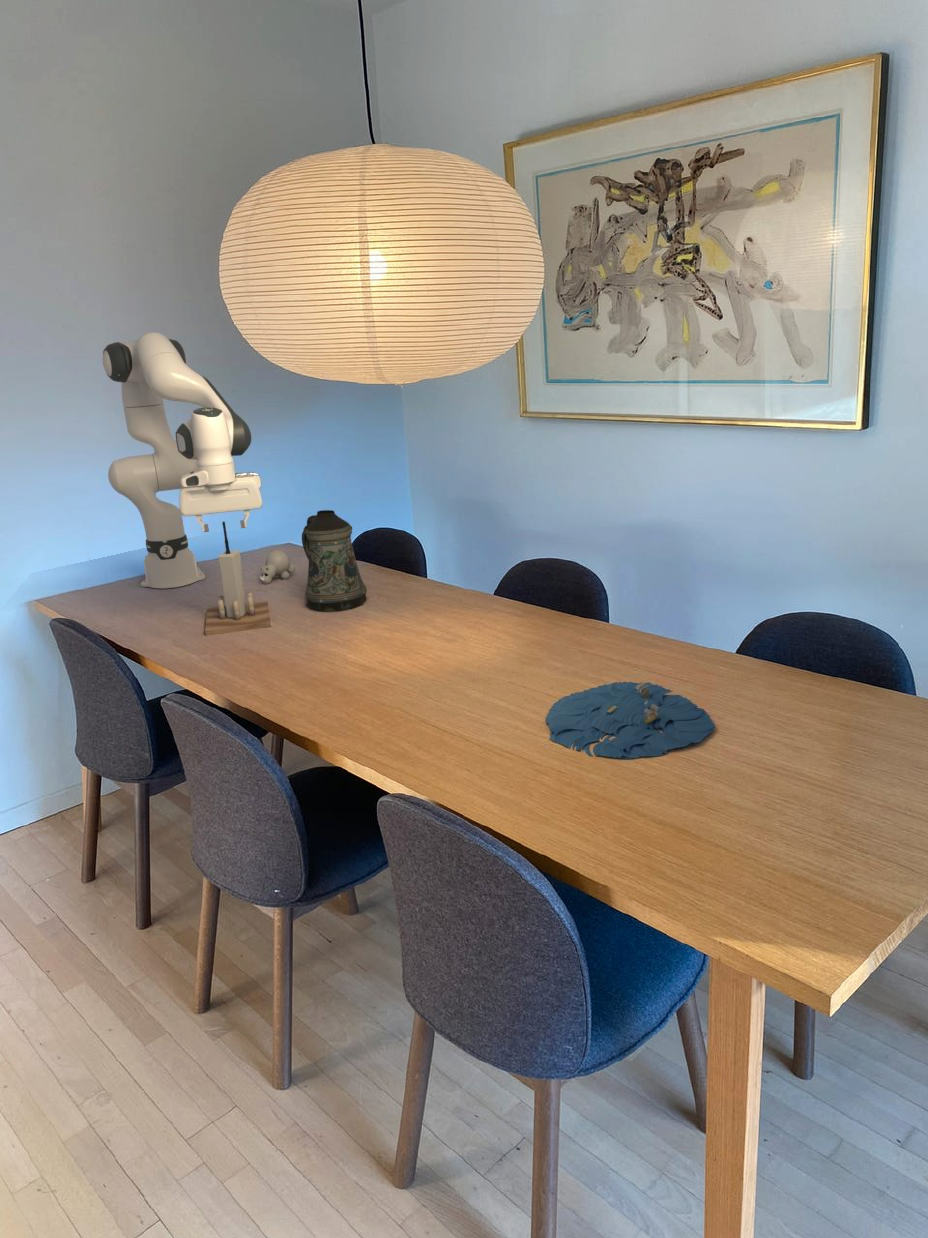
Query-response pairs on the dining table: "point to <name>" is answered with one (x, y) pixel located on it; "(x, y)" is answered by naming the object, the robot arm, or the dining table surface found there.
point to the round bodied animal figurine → (276, 567)
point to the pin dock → (237, 617)
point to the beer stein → (331, 564)
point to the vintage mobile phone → (232, 579)
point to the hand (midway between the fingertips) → (225, 529)
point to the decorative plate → (627, 720)
